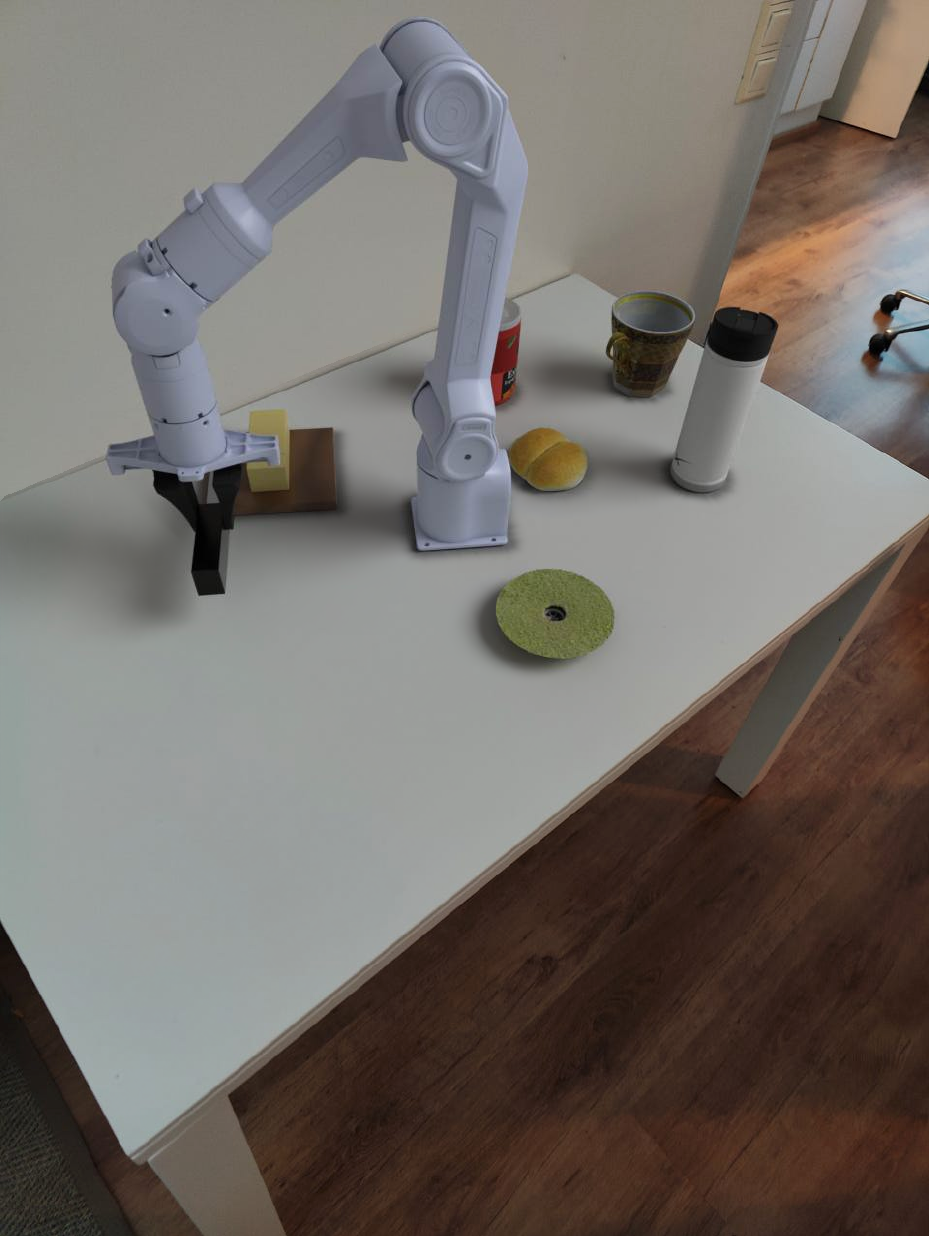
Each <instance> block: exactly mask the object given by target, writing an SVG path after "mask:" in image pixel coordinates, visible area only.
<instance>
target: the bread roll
mask: <svg viewBox="0 0 929 1236" xmlns="http://www.w3.org/2000/svg"><path fill="white" fill-rule="evenodd" d="M508 459H509V465H510V467H511V468H512V470H513V471H514V472H515V473H516V474H517V476H519V477H520V478H522V479H523V480H525V481H526V482H527V483H528V484H529V485H530V486H531V487H533V488H535V489H537V490H538V491H543V492H556V491H557V492H558V491H565V490H566V491H567V490H572V489H573V488H575V487H577V486H578V485H579V484H580V483H582V481H583V480H584V477H585V476H586V472H587V469H588V465H589V464H588V457H587V454H586V452H585V450H584V448H583V447H582V446H581V445H580V444H578V443H576V442H574V441H570V440H569V439H568V438H567V437H566V436H565V435H564V434H563V433H562V432H560V431H558V430H556V429H555V428H552V427H536V428H534V429H531V430H529V431H527V432H526V433H524V434H522V435H520V437H517V438H516V439H515V440H514V441H513V442H512V443H511V444H510V446H509V452H508Z"/></svg>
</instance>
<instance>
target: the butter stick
mask: <svg viewBox="0 0 929 1236" xmlns="http://www.w3.org/2000/svg"><path fill="white" fill-rule="evenodd" d="M287 413H288V412H287V409H286V408H279V409H278V408H277V409H262V410H249V420H248V421H249V422H248V432H249V433H251V434H258V435H277V436H278V442H279V448H280V454H285V455H286V461H287V467H288V473H289V435H290V432H289V430H290V426H289V420H288V419H289V418H288V414H287Z"/></svg>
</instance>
